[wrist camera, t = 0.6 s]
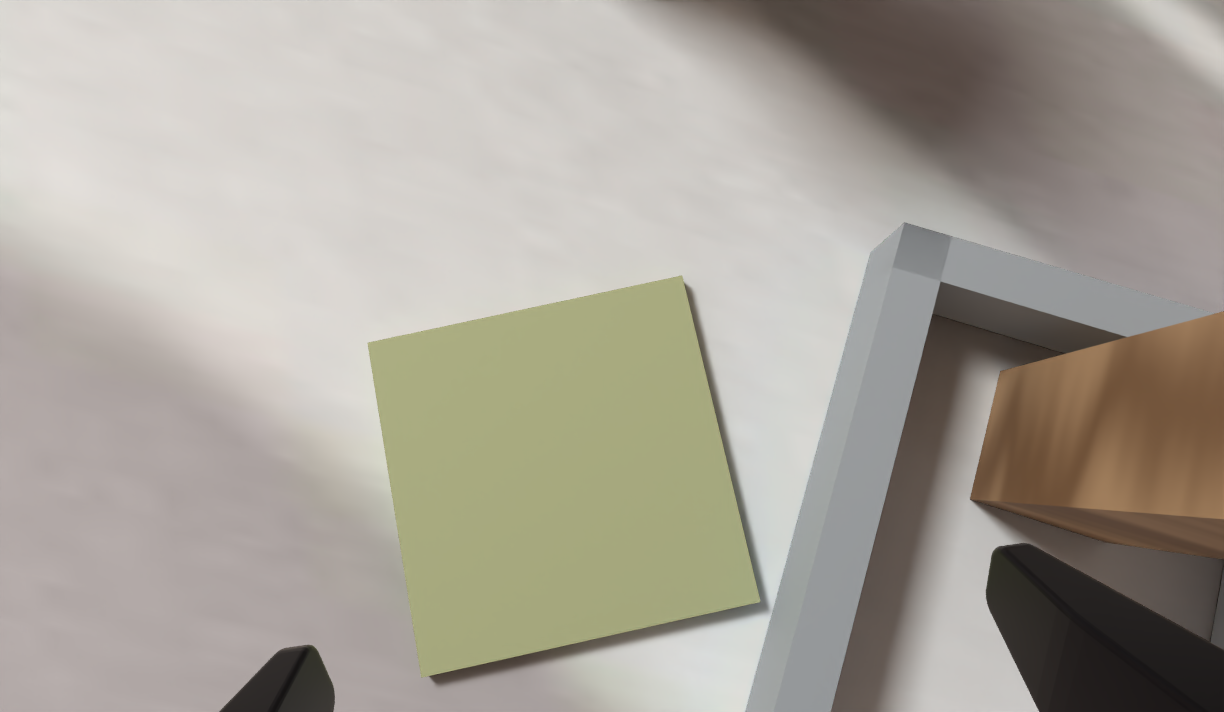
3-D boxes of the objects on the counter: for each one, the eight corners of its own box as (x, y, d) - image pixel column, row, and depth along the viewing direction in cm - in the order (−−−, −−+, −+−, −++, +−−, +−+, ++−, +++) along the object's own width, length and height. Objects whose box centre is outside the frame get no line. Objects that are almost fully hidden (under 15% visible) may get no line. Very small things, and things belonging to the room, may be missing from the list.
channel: (1209, 949, 21) (1304, 1027, 18) (726, 779, 22) (742, 826, 19) (1304, 380, 24) (1401, 367, 21) (871, 252, 25) (904, 222, 22)
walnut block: (1105, 541, 23) (1612, 616, 11) (969, 499, 23) (1325, 526, 12) (1132, 411, 24) (1636, 351, 12) (1000, 371, 24) (1364, 273, 12)
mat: (757, 599, 23) (760, 601, 22) (425, 673, 23) (421, 677, 22) (680, 279, 25) (682, 275, 24) (372, 345, 25) (367, 342, 24)
